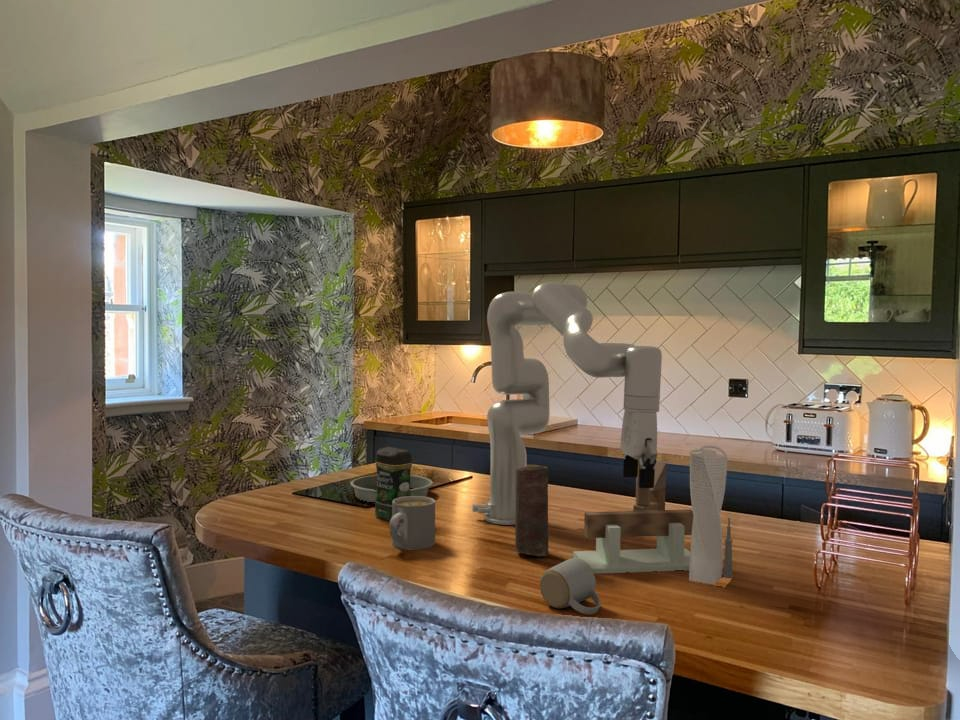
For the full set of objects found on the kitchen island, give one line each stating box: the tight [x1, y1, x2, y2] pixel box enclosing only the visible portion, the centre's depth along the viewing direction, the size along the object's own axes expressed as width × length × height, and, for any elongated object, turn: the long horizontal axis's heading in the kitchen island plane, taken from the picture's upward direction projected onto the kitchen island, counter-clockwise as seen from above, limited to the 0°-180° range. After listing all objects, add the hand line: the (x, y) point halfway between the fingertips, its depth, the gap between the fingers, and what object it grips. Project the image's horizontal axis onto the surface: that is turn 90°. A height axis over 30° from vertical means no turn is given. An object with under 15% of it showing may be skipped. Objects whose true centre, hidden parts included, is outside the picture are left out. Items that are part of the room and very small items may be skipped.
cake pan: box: [349, 474, 434, 504], centre depth 216 cm, size 25×25×4 cm
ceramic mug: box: [539, 557, 602, 616], centre depth 130 cm, size 11×8×8 cm
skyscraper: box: [688, 445, 733, 585], centre depth 144 cm, size 8×8×28 cm
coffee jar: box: [374, 446, 413, 521], centre depth 190 cm, size 10×8×19 cm
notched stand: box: [572, 523, 690, 575], centre depth 155 cm, size 26×12×9 cm, turn 98°
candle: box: [514, 463, 549, 558], centre depth 160 cm, size 8×7×20 cm
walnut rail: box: [583, 508, 693, 539], centre depth 155 cm, size 24×2×5 cm, turn 98°
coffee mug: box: [388, 496, 436, 551], centre depth 166 cm, size 13×10×10 cm
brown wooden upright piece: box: [632, 457, 667, 511], centre depth 195 cm, size 4×11×18 cm, turn 135°
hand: (637, 482), depth 155 cm, fingers open, 9 cm apart
